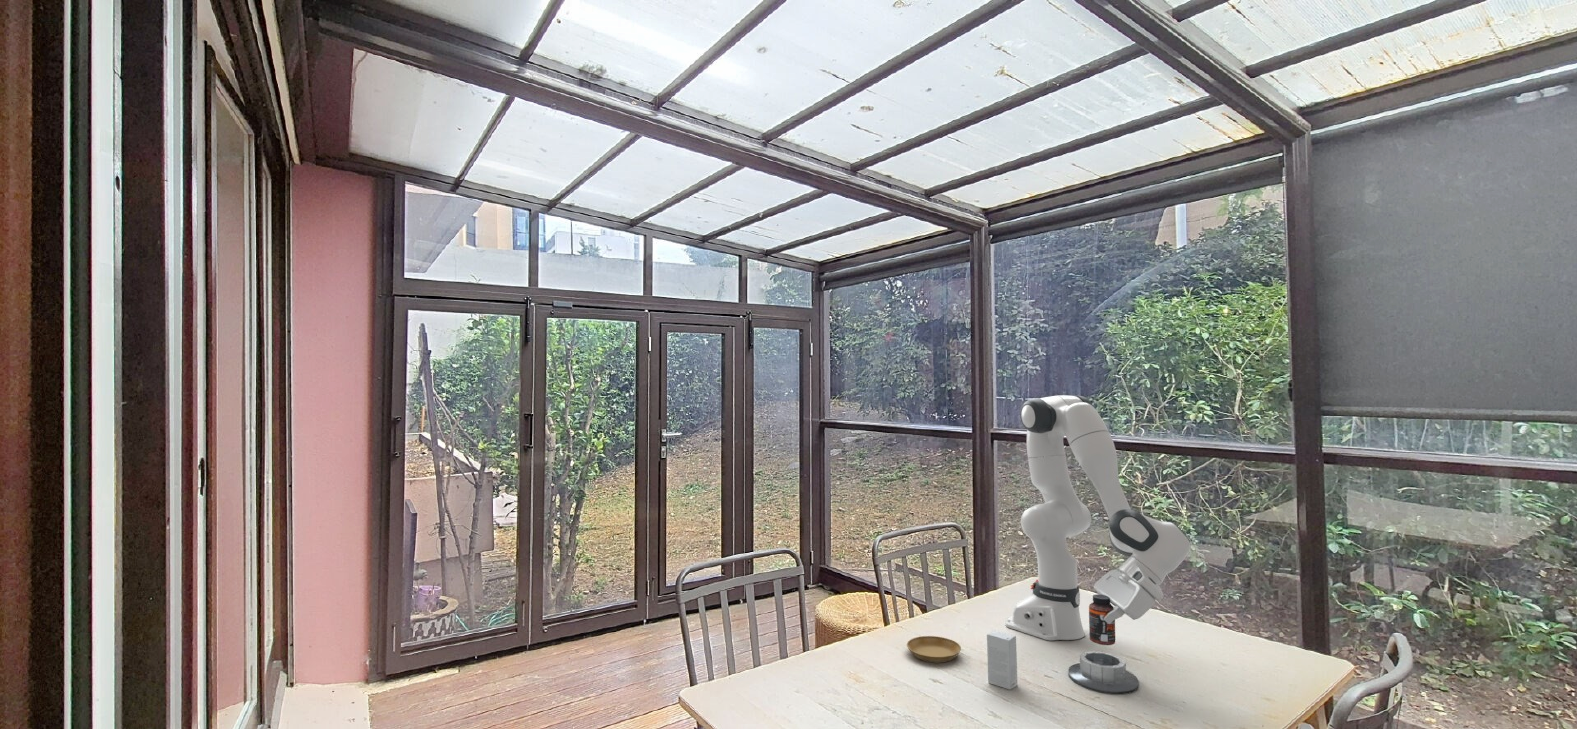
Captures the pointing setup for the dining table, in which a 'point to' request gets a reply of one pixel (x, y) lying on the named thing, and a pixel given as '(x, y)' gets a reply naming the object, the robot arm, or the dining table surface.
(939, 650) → the plant saucer
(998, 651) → the skincare box
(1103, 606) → the supplement bottle
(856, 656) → the dining table surface
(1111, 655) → the duct collar
